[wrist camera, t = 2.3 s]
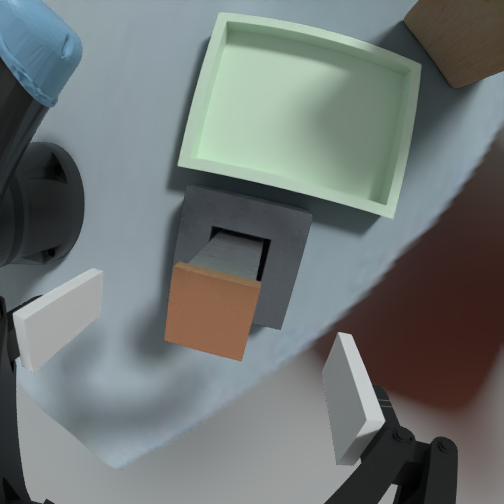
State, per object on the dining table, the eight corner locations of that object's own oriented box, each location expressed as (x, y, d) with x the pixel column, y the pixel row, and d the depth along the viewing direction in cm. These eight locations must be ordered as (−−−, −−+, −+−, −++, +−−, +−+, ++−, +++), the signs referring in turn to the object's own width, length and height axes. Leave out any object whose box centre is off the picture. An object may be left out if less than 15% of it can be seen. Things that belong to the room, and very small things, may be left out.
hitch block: (179, 286, 32) (167, 301, 28) (198, 184, 29) (186, 185, 25) (280, 311, 32) (280, 329, 28) (308, 209, 29) (313, 214, 25)
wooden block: (397, 20, 23) (484, -79, 3) (446, 1, 21) (529, -70, 1) (451, 92, 24) (581, 47, 5) (493, 66, 22) (601, 28, 3)
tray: (186, 166, 29) (177, 165, 26) (224, 25, 25) (219, 12, 22) (382, 214, 28) (392, 219, 26) (410, 72, 24) (421, 64, 21)
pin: (213, 266, 31) (164, 340, 17) (222, 222, 30) (173, 266, 15) (257, 277, 31) (241, 361, 16) (268, 233, 30) (260, 288, 15)
